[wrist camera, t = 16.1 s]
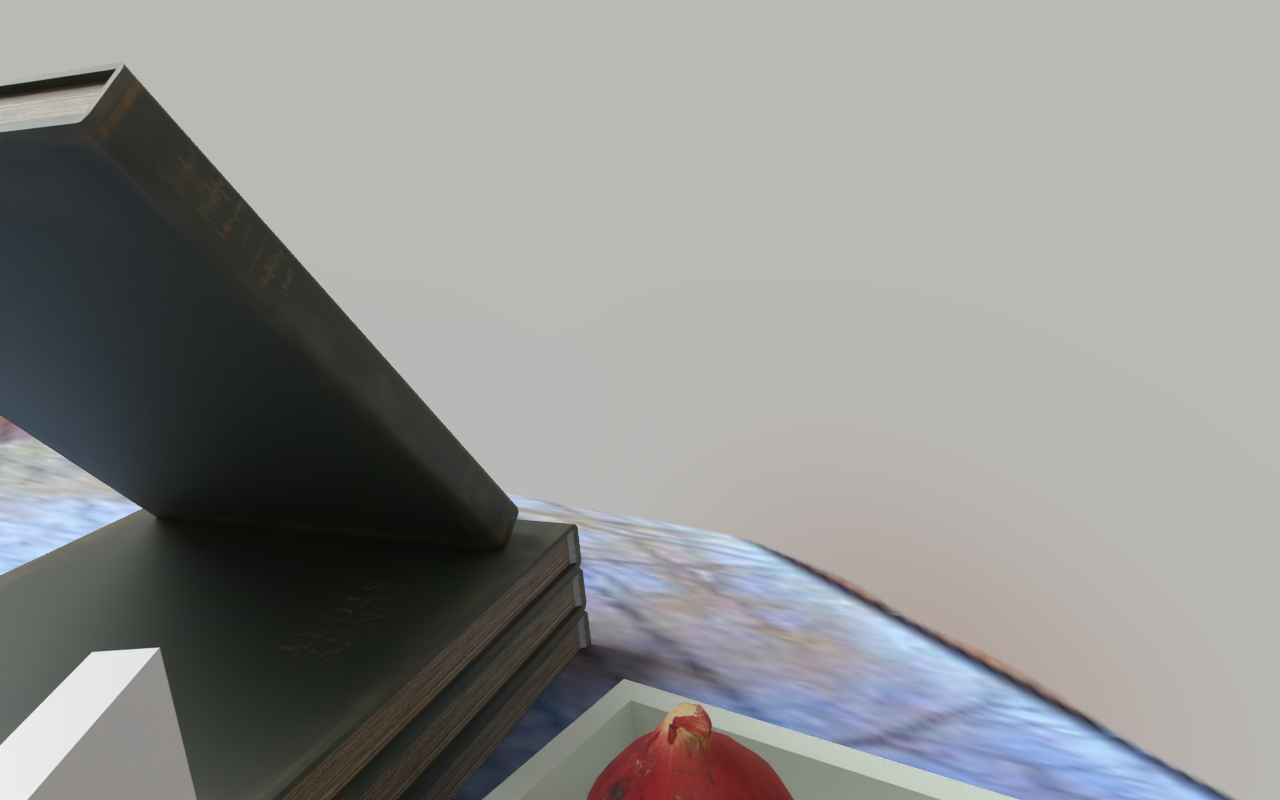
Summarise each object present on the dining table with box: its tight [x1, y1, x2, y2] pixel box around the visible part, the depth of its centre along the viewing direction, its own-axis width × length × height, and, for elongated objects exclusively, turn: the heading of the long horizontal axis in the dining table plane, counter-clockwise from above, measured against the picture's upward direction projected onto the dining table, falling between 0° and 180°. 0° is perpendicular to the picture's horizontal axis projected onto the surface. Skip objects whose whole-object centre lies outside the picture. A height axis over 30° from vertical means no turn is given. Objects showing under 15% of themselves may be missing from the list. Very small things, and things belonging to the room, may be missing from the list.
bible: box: [0, 63, 591, 800], centre depth 36 cm, size 23×20×25 cm
